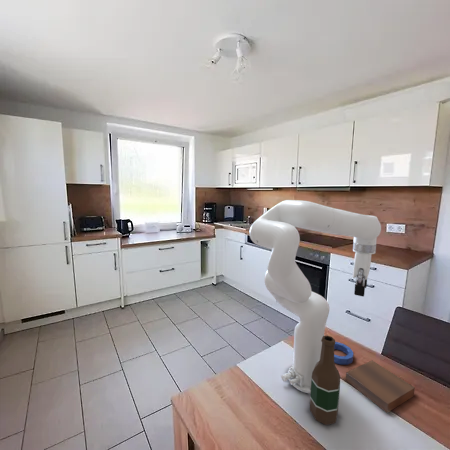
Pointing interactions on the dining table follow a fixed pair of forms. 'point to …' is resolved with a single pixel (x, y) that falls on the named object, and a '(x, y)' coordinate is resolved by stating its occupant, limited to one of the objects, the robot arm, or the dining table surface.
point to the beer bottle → (325, 385)
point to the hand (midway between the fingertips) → (360, 291)
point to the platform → (380, 385)
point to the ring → (343, 359)
